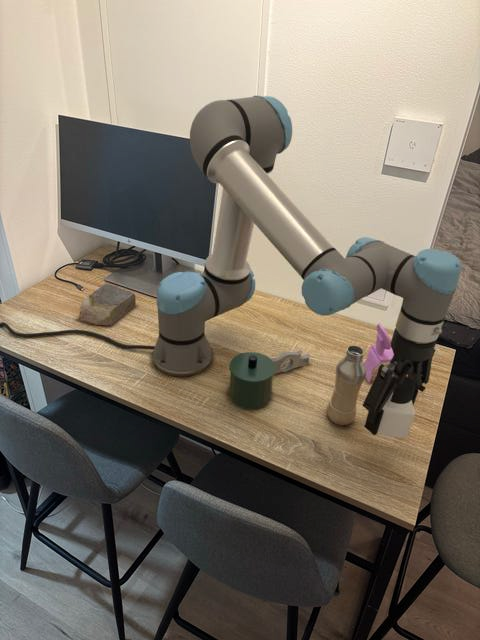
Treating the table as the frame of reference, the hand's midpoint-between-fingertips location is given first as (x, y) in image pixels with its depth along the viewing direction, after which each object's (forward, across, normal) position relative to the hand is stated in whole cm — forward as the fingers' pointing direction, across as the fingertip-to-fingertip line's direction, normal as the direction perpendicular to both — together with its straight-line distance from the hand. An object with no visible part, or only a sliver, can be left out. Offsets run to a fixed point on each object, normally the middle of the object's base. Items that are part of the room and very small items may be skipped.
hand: (387, 420), depth 100 cm
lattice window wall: (+10, +1, +32) cm, 33 cm away
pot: (+10, -13, +29) cm, 34 cm away
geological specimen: (+11, -28, +81) cm, 86 cm away
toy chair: (+10, +21, +17) cm, 29 cm away
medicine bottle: (+1, 0, 0) cm, 1 cm away
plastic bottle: (+10, 0, +11) cm, 15 cm away
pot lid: (+1, -13, +29) cm, 32 cm away
